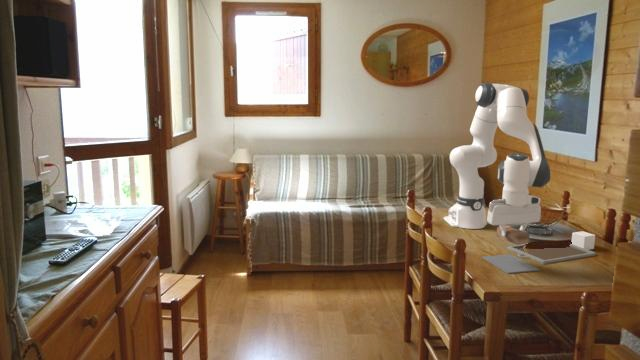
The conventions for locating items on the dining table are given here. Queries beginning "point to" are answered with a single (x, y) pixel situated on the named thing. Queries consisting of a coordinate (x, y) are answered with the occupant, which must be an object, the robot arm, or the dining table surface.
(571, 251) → the flat tray
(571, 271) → the dining table surface
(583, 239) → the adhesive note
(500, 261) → the rubber mat
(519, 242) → the tan rectangular block
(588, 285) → the dining table surface
